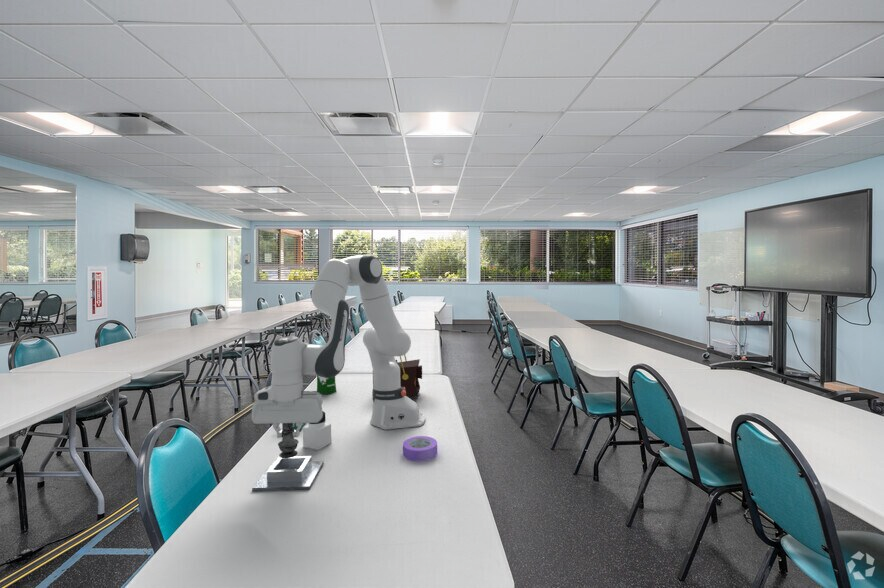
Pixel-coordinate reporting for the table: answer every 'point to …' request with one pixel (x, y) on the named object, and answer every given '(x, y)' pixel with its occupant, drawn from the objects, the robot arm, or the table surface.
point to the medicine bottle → (317, 434)
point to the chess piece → (288, 442)
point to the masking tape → (420, 448)
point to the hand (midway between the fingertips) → (288, 436)
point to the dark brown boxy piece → (410, 376)
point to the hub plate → (289, 474)
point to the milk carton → (326, 385)
